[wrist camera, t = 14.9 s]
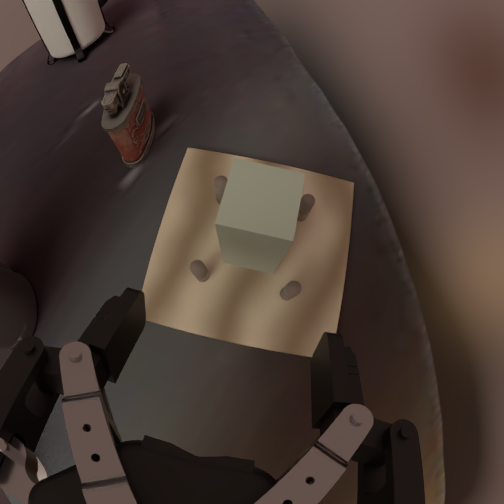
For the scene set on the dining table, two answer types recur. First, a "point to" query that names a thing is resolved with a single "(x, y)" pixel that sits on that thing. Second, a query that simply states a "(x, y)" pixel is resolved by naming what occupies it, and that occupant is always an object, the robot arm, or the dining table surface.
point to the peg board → (243, 279)
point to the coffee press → (67, 25)
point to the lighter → (128, 116)
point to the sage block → (258, 215)
